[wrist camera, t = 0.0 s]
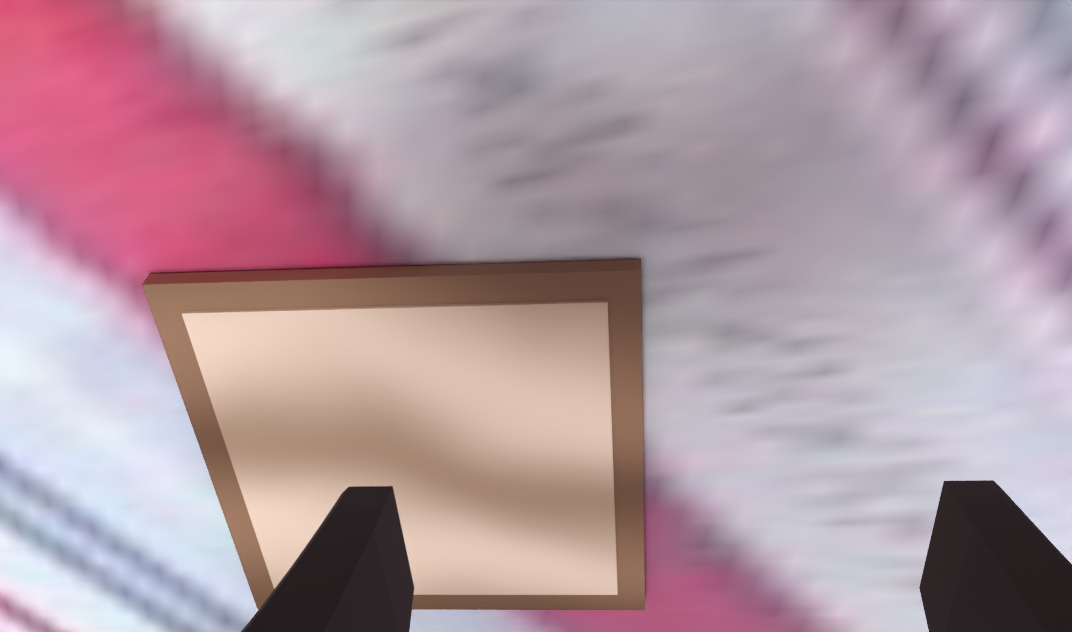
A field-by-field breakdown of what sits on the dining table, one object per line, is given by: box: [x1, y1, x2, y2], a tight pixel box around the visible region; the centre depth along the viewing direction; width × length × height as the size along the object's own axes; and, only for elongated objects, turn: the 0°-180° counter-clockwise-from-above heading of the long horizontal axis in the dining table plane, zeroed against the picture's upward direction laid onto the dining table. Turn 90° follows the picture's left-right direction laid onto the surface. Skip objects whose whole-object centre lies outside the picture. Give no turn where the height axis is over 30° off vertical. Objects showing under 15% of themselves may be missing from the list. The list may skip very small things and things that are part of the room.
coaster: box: [142, 259, 645, 610], centre depth 26 cm, size 12×12×1 cm
